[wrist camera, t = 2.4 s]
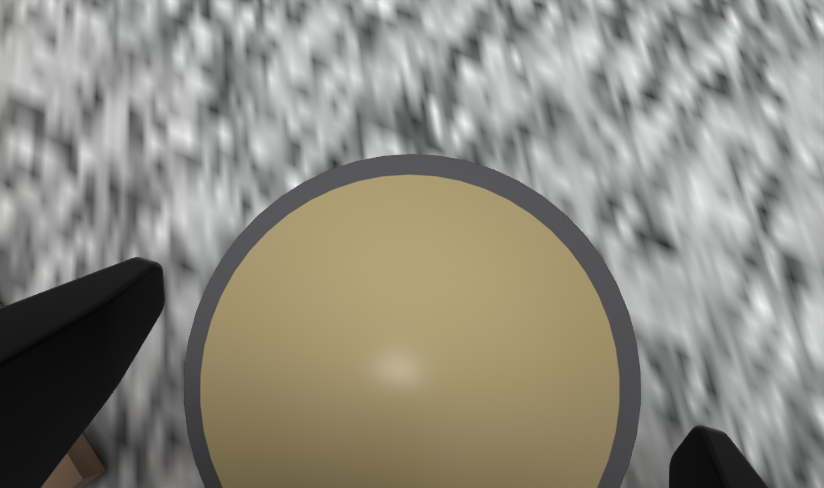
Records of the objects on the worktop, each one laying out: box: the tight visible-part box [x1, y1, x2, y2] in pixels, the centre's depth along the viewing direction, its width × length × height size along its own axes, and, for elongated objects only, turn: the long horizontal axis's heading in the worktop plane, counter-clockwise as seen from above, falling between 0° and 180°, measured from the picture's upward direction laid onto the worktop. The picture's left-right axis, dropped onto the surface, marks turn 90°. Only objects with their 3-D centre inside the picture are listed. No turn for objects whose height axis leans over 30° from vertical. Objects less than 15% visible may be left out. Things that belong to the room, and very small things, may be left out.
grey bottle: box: [184, 154, 641, 488], centre depth 11 cm, size 4×4×13 cm
